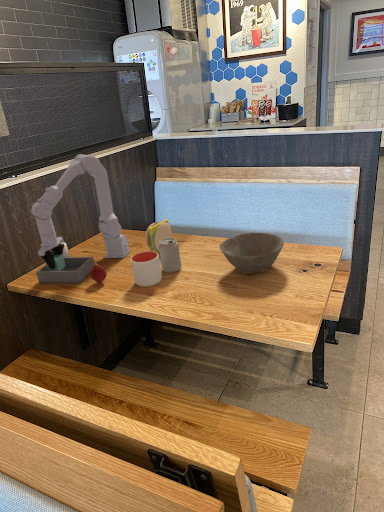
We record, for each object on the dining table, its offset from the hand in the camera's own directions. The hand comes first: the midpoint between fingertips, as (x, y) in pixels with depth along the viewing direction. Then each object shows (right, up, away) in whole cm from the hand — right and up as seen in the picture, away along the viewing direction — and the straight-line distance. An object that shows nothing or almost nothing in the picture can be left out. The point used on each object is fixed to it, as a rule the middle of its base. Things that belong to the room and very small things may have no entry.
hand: (56, 265), depth 156 cm
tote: (+4, -4, +1) cm, 6 cm away
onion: (+20, -7, -9) cm, 22 cm away
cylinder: (-3, +2, +18) cm, 18 cm away
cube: (0, -1, +1) cm, 2 cm away
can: (+46, -2, -5) cm, 47 cm away
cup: (+38, -6, -12) cm, 41 cm away
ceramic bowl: (+76, -1, -13) cm, 77 cm away
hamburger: (+40, +6, +15) cm, 43 cm away
